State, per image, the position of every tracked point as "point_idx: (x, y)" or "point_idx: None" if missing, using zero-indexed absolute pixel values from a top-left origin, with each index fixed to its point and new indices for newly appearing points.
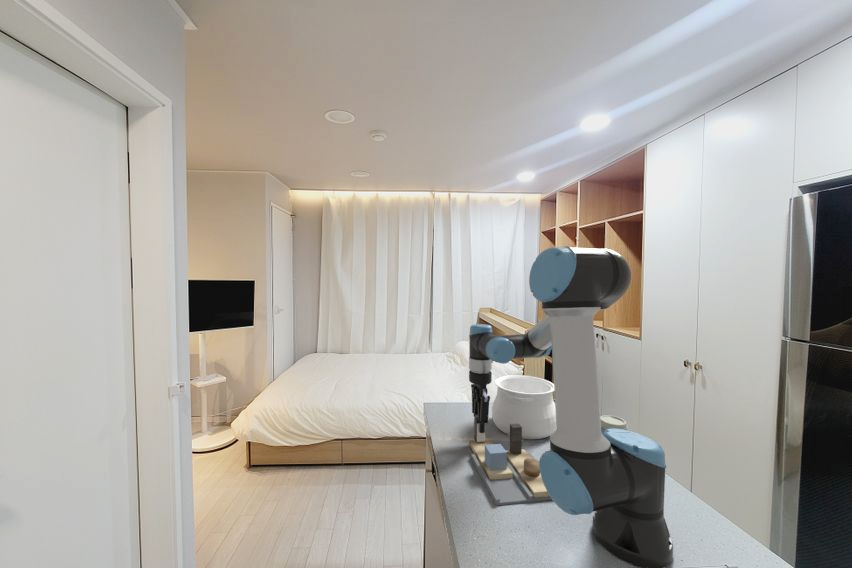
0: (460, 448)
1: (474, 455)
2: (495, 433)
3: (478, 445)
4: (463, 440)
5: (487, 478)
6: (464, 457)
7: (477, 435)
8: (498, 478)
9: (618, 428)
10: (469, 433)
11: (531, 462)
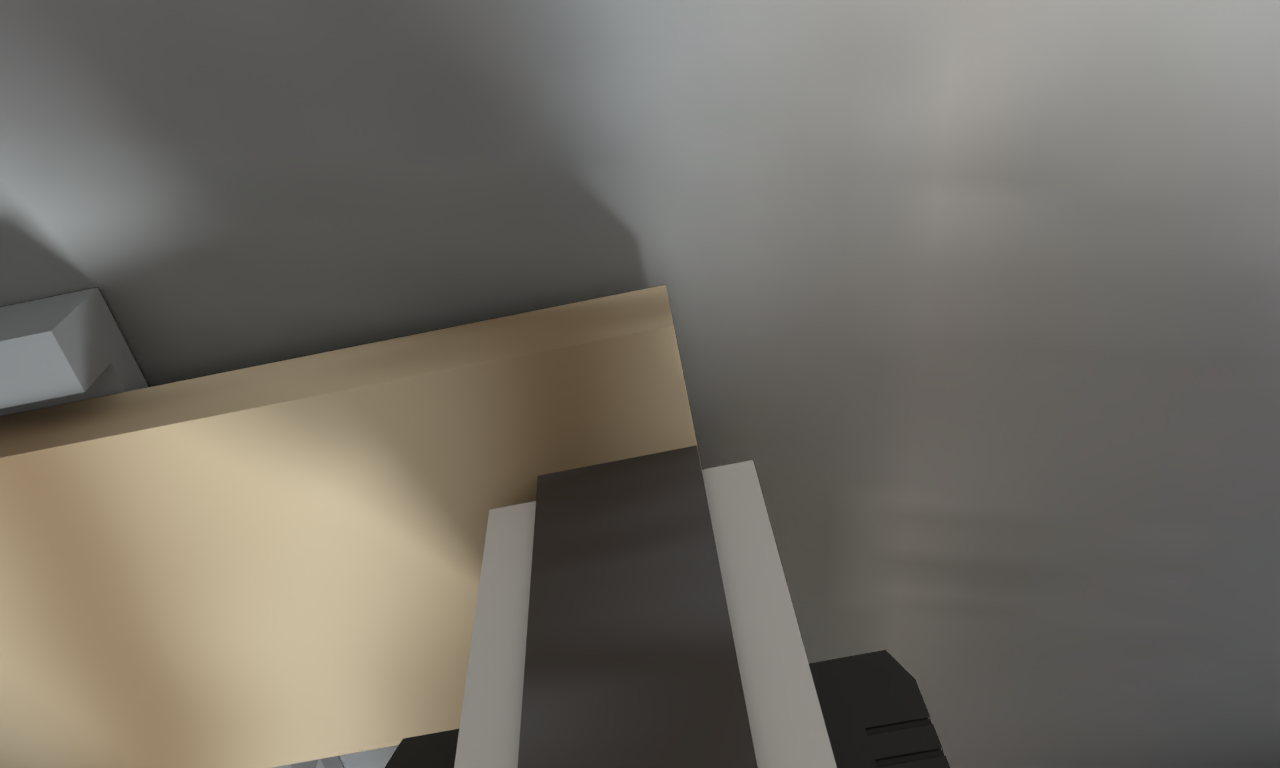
0: (499, 81)
1: (12, 391)
2: (1085, 725)
3: (395, 507)
4: (879, 173)
5: None
6: (111, 151)
7: (477, 616)
8: None
9: None
10: (1183, 321)
11: None
